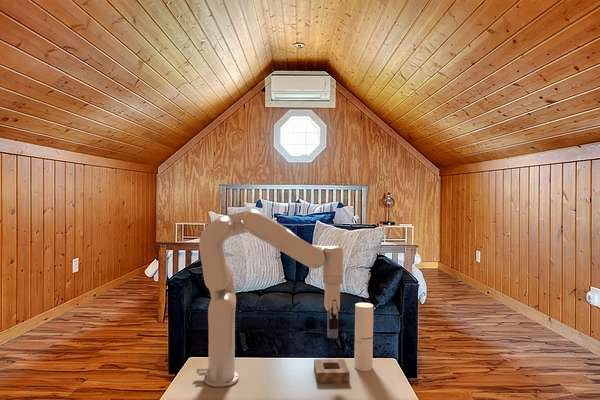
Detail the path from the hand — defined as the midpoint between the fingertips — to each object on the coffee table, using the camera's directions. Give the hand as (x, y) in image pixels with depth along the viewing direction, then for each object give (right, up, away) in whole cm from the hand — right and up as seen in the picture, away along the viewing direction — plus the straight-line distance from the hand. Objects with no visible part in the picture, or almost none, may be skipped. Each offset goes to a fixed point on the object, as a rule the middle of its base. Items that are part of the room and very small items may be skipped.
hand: (332, 326), depth 159 cm
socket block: (0, -19, 0) cm, 19 cm away
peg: (0, -4, 0) cm, 4 cm away
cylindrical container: (+13, -19, +9) cm, 25 cm away
